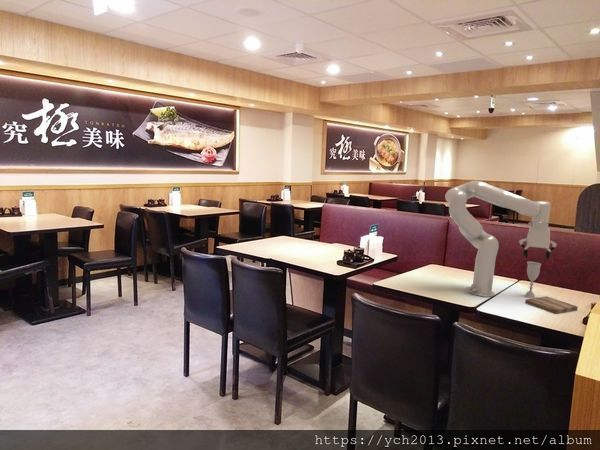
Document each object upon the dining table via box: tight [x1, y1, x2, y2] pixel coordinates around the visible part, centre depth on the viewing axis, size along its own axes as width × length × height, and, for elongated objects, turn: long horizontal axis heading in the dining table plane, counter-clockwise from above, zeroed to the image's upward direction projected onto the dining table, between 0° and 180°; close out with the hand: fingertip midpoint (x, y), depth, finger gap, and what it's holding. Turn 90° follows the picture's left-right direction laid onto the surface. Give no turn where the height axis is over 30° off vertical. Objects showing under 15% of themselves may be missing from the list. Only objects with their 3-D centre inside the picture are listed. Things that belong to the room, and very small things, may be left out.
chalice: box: [524, 261, 542, 299], centre depth 224 cm, size 7×7×18 cm
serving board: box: [524, 295, 579, 315], centre depth 209 cm, size 16×16×2 cm
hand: (535, 257), depth 222 cm, fingers open, 9 cm apart
